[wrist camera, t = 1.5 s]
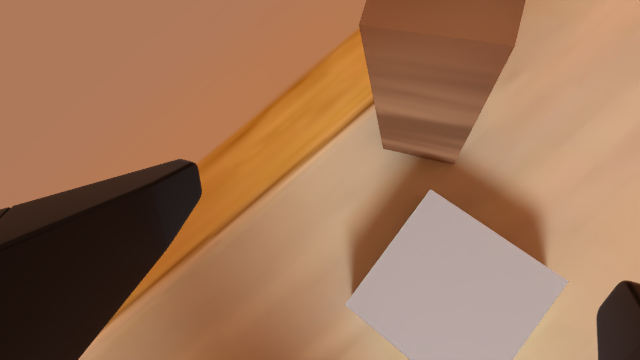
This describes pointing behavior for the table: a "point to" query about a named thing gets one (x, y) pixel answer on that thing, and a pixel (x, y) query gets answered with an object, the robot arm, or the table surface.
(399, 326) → the base
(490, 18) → the walnut block
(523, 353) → the table surface
